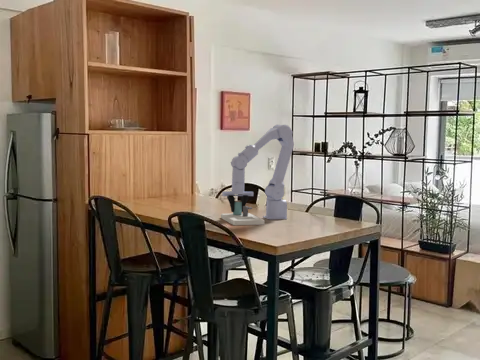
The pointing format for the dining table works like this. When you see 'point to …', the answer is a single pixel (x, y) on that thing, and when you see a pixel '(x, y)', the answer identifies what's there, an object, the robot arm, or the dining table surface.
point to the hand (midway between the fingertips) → (237, 211)
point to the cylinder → (237, 208)
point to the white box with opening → (243, 218)
